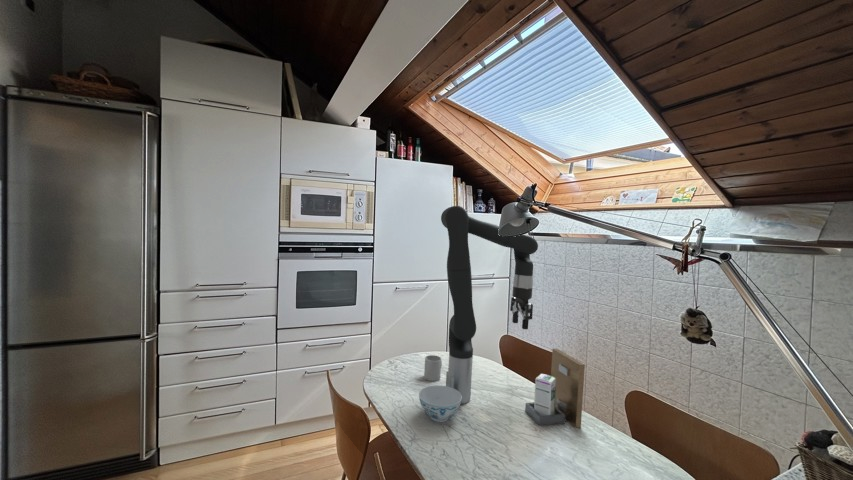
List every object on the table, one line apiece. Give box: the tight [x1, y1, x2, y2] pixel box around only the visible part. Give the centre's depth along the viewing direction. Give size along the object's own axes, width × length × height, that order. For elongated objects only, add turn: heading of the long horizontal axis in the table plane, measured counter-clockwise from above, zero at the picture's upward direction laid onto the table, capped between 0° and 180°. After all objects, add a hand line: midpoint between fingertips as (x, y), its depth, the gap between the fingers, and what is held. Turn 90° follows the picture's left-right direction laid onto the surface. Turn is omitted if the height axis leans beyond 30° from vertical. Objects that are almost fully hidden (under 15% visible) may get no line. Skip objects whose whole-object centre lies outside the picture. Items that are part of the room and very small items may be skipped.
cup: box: [423, 354, 443, 382], centre depth 152 cm, size 7×10×9 cm
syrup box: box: [534, 373, 556, 416], centre depth 122 cm, size 6×6×14 cm
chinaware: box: [418, 385, 462, 423], centre depth 119 cm, size 15×15×8 cm
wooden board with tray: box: [524, 348, 586, 429], centre depth 123 cm, size 14×16×22 cm
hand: (519, 325), depth 137 cm, fingers open, 8 cm apart
